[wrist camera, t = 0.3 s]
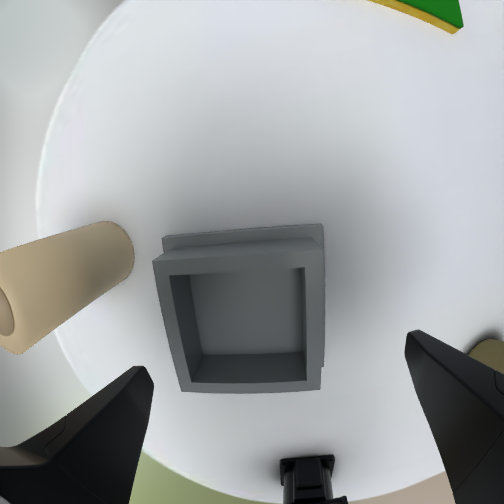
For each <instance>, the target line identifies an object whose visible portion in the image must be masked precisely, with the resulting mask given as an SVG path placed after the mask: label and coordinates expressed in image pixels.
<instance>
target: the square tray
mask: <svg viewBox="0 0 504 504" xmlns="http://www.w3.org/2000/svg"><path fill="white" fill-rule="evenodd" d="M162 243H163V250H164V254H162V255H161V256H159V257H157V258H156V259H154V260H153V261H152V263H153V269H154V275H155V280H156V286H157V291H158V296H159V301H160V306H161V311H162V316H163V320H164V325H165V329H166V334H167V338H168V342H169V346H170V350H171V354H172V358H173V362H174V366H175V370H176V374H177V377H178V381H179V384H180V388H181V391H182V392H198V393H234V394H244V393H281V392H298V391H311V390H320V384H321V367H324V345H325V263H324V234H323V225H322V224H308V225H293V226H278V227H265V228H251V229H238V230H226V231H214V232H202V233H191V234H180V235H169V236H165V237H163V238H162Z"/></svg>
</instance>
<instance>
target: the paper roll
mask: <svg viewBox="0 0 504 504" xmlns="http://www.w3.org/2000/svg"><path fill="white" fill-rule="evenodd" d="M133 265H134V249H133V245H132V242H131V240H130V238H129V236H128V235H127V233H126V232H125V231H124V230H123V229H122V228H121V227H120V226H118V225H117V224H115V223H112V222H108V221H102V222H98V223H94V224H91V225H87V226H83V227H80V228H76V229H73V230H69V231H66V232H62V233H59V234H56V235H52V236H49V237H46V238H42V239H39V240H36V241H33V242H30V243H27V244H24V245H21V246H17V247H14V248H11V249H9V250H6V251H3V252H0V345H1V346H2V347H3V348H4V349H6V350H7V351H9V352H11V353H13V354H17V355H18V354H22V353H24V352H25V351H26V350H28V349H29V348H30V347H32V346H33V345H34V344H36V343H37V342H38V341H39V340H41V339H42V338H43V337H45V336H46V335H47V334H49V333H50V332H51V331H53V330H54V329H55V328H57V327H58V326H60V325H61V324H62V323H64V322H65V321H66V320H68V319H69V318H70V317H72V316H73V315H75V314H76V313H77V312H79V311H80V310H82V309H83V308H84V307H86V306H87V305H89V304H90V303H91V302H93V301H94V300H96V299H97V298H98V297H100V296H101V295H103V294H104V293H106V292H107V291H108V290H110V289H111V288H113V287H114V286H116V285H117V284H119V283H120V282H122V281H123V280H124V279H126V278H127V277H128V276H129V274H130V273H131V271H132V268H133Z"/></svg>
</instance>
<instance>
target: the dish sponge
mask: <svg viewBox="0 0 504 504" xmlns="http://www.w3.org/2000/svg"><path fill="white" fill-rule="evenodd" d="M368 1H372V2H375V3H378V4H381V5H384V6H387V7H390V8H393V9H396V10H398V11H401V12H404V13H406V14H409V15H411V16H414V17H416V18H418V19H421V20H423V21H425V22H428V23H430V24H432V25H434V26H436V27H438V28H441V29H443V30H445V31H447V32H449V33H451V34H454V33H456V32H457V31H458V30H459V29H461V28H462V27H463V20H462V15H461V10H460V5H459V1H458V0H368Z"/></svg>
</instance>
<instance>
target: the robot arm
mask: <svg viewBox="0 0 504 504" xmlns="http://www.w3.org/2000/svg"><path fill="white" fill-rule="evenodd" d="M405 358H406V361H407V365H408V368H409V371H410V374H411V377H412V381H413V384H414V388H415V391H416V394H417V396H418V399H419V401H420V404H421V406H422V408H423V411H424V413H425V416H426V418H427V421H428V423H429V426H430V428H431V431H432V434H433V436H434V439H435V442H436V444H437V447H438V450H439V453H440V455H441V458H442V461H443V464H444V467H445V470H446V473H447V476H448V479H449V482H450V485H451V489H452V491H453V496H454V499H455V503H456V504H504V374H503V373H501V372H499V371H497V370H495V371H494V369H493V368H491V367H489V366H487V365H485V364H484V363H482V362H480V361H478V360H476V359H474V358H472V357H470V356H468V355H467V354H465V353H463V352H461V351H459V350H457V349H455V348H453V347H451V346H450V345H448V344H446V343H444V342H442V341H440V340H438V339H436V338H434V337H432V336H430V335H429V334H427V333H425V332H423V331H421V330H414V331H411V332H408V334H407V337H406V345H405ZM153 391H154V383H153V381H152V379H151V377H150V375H149V373H148V371H147V369H146V368H145V367H144V366H133V367H132V368H130V369H129V370H127V371H126V372H125V373H123V374H122V375H121V376H119V377H118V378H117V379H115V380H114V381H113V382H111V383H110V384H108V385H107V386H106V387H104V388H103V389H102V390H100V391H99V392H97V393H96V394H95V395H93V396H92V397H91V398H89V399H88V400H86V401H85V402H84V403H83V404H81V405H80V406H78V407H77V408H75V409H74V410H73V411H71V412H70V413H68V414H67V416H64V417H63V418H61V419H60V420H59V421H57V422H56V423H54V424H53V425H51V426H50V427H48V428H46V429H45V430H43V431H41V432H40V433H38V434H36V435H35V436H33V437H31V438H30V439H28V440H26V441H24V442H23V443H21V444H19V445H17V446H13V447H0V504H129V500H130V496H131V491H132V487H133V482H134V478H135V474H136V470H137V466H138V461H139V457H140V453H141V449H142V446H143V442H144V438H145V434H146V430H147V426H148V422H149V417H150V410H151V403H152V397H153ZM334 462H335V457H334V456H333V455H331V456H322V457H312V458H299V459H283V460H281V461H280V475H281V485H282V486H284V494H283V504H348V501H347V497H346V496H342V497H340V498H334V499H333V492H332V484H331V477H332V472H333V467H334Z"/></svg>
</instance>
